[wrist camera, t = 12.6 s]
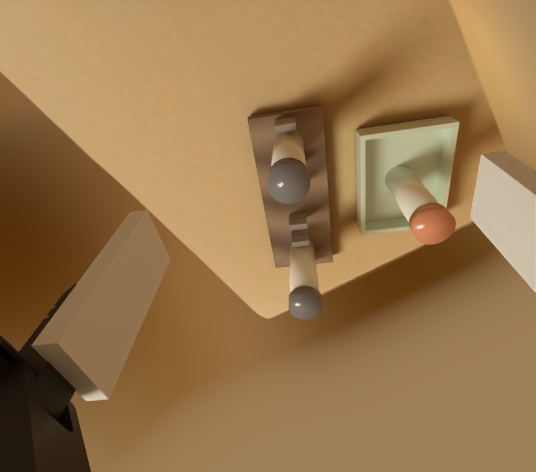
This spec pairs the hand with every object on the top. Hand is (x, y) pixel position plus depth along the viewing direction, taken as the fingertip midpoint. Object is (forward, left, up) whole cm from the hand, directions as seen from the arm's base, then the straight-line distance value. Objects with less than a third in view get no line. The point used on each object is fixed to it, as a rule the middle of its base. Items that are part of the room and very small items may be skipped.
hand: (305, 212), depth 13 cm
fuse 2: (+22, -1, -29) cm, 36 cm away
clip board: (+14, -1, -30) cm, 33 cm away
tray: (+13, +13, -30) cm, 35 cm away
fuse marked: (+13, +13, -30) cm, 35 cm away
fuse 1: (+6, -1, -29) cm, 29 cm away
